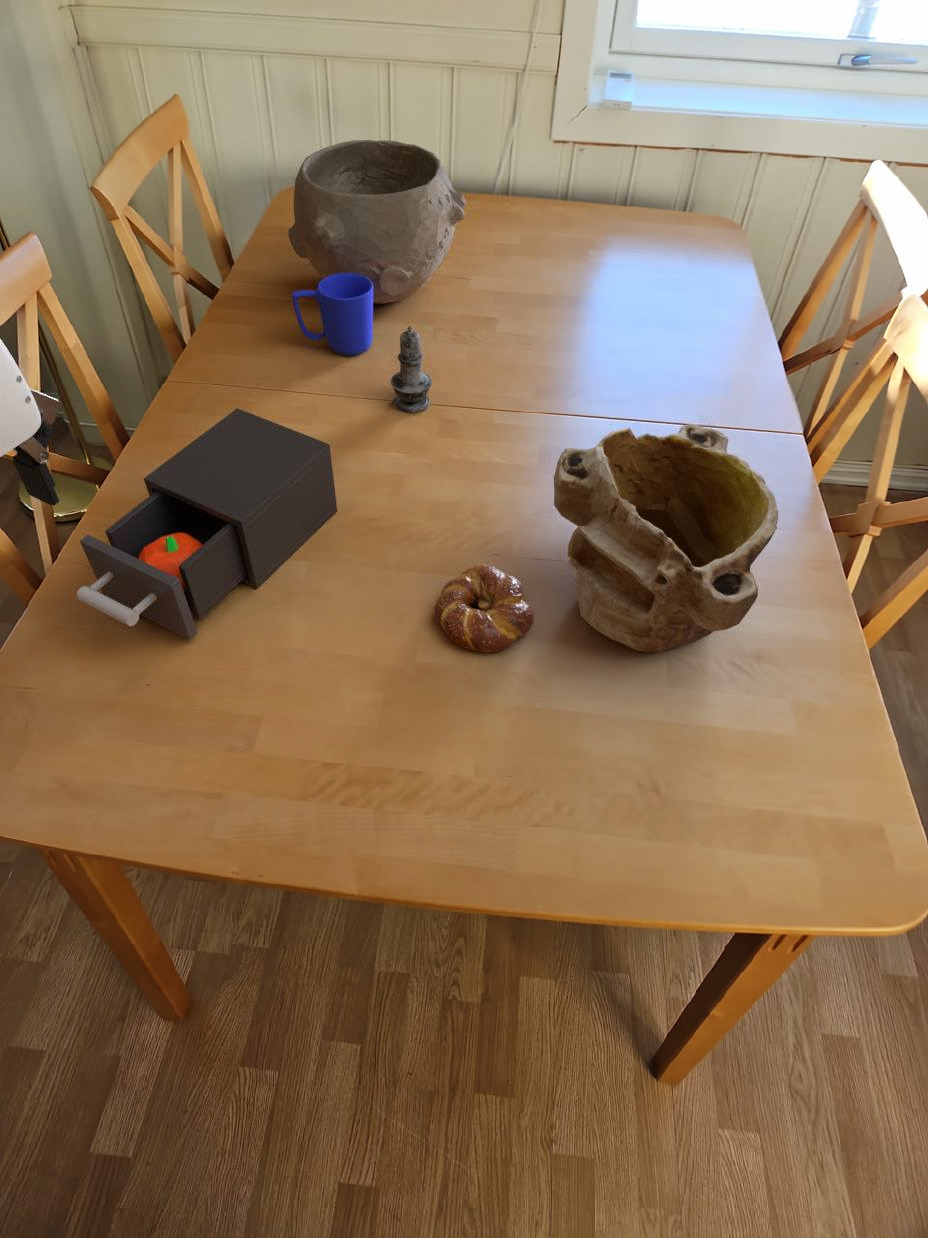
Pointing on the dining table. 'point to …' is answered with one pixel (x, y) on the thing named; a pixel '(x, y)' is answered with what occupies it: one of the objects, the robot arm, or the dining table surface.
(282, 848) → the dining table surface
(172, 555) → the pumpkin
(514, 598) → the pretzel
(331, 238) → the bowl
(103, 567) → the drawer
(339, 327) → the mug
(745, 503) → the ceramic vessel
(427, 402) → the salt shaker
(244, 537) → the cabinet
